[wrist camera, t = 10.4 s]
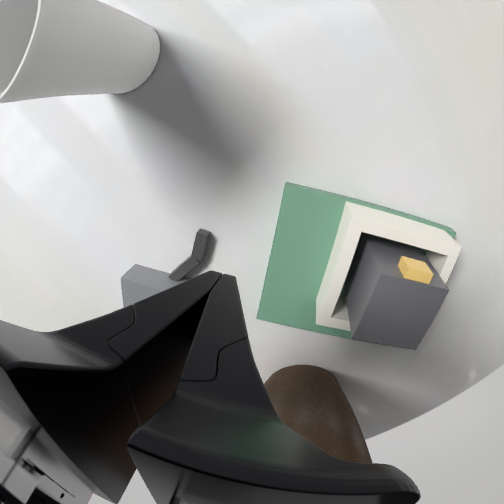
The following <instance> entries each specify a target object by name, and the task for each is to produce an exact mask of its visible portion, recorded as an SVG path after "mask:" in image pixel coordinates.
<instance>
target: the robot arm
mask: <svg viewBox="0 0 504 504" xmlns="http://www.w3.org/2000/svg"><path fill="white" fill-rule="evenodd" d="M136 469H138V471H139V473H140V475H141V476H142V479H143V480H144V482H145V484H146V486H147V488H148V489H149V491H150V493H151V495H152V496H153V498H154V499H155V501H156V503H157V504H415V503H416V502H417V501H418V500H419V499H420V497H421V495H420V492H419V490H418V487H417V486H416V485H415V483H414V482H413V481H412V479H410V478H409V477H408V476H407V475H406V474H405V473H403V472H402V471H401V470H399V469H398V468H396V467H394V466H391V465H387V464H377V463H375V464H374V463H355V462H349V461H345V460H341V459H339V458H336V457H333V456H332V455H330V454H328V453H326V452H325V451H323V450H322V449H320V448H318V447H317V446H315V445H314V444H312V443H311V442H309V441H308V440H307V439H305V438H304V437H302V436H301V435H299V434H298V433H296V432H295V431H294V430H292V429H291V428H289V427H288V426H287V425H285V424H284V422H283V421H282V420H281V419H280V418H279V416H278V414H277V413H276V411H275V409H274V406H273V404H272V402H271V400H270V397H269V395H268V393H267V391H266V388H265V386H264V384H263V381H262V379H261V377H260V374H259V372H258V369H257V367H256V364H255V361H254V358H253V354H252V351H251V347H250V342H249V339H248V333H247V329H246V324H245V319H244V315H243V310H242V305H241V300H240V295H239V290H238V286H237V281H236V277H235V276H232V275H227V274H223V275H222V273H219V272H215V271H208V272H205V273H203V274H201V275H198V276H196V277H194V278H191V279H189V280H187V281H185V282H182V283H180V284H178V285H175V286H173V287H171V288H168V289H166V290H164V291H161V292H159V293H157V294H155V295H152V296H150V297H148V298H145V299H143V300H141V301H138V302H136V303H134V304H133V305H132V304H131V305H129V306H127V307H124V308H122V309H119V310H117V311H114V312H112V313H109V314H107V315H104V316H101V317H98V318H95V319H92V320H89V321H86V322H83V323H80V324H77V325H73V326H70V327H67V328H64V329H61V330H57V331H53V332H37V331H33V330H29V329H26V328H23V327H19V326H16V325H13V324H10V323H7V322H4V321H1V320H0V504H87V503H88V501H89V500H90V498H91V496H92V494H93V493H95V494H96V495H98V496H100V497H102V498H104V499H106V500H108V501H110V502H112V503H114V504H118V502H119V500H120V499H121V497H122V495H123V493H124V491H125V489H126V487H127V485H128V484H129V482H130V479H131V478H132V476H133V474H134V472H135V470H136Z"/></svg>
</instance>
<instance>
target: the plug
mask: <svg viewBox="0 0 504 504" xmlns="http://www.w3.org/2000/svg"><path fill="white" fill-rule="evenodd" d="M344 289H345V295H346V302H347V309H348V316H349V323H350V331H351V339H353V340H359V341H364V342H370V343H376V344H382V345H388V346H394V347H400V348H407V349H414V350H415V349H416V348H417V346H418V345H419V343H420V341H421V340H422V338H423V337H424V335H425V333H426V332H427V330H428V328H429V326H430V325H431V323H432V321H433V319H434V318H435V316H436V314H437V312H438V310H439V309H440V307H441V305H442V303H443V301H444V299H445V297H446V295H447V293H448V291H449V289H448V288H447V286H446V285H445V283H444V282H443V280H442V279H441V277H440V276H439V274H438V273H437V271H436V270H435V268H434V267H433V266H432V264H431V263H430V261H429V260H428V259H427V257H426V256H425V255H424V253H423V252H422V250H421V249H420V248H419V247H416V246H412V245H409V244H405V243H402V242H398V241H394V240H391V239H387V238H383V237H379V236H376V235H372V234H368V233H364V232H362V234H361V237H360V240H359V243H358V246H357V249H356V252H355V255H354V258H353V261H352V263H351V266H350V269H349V272H348V275H347V277H346V280H345V283H344Z"/></svg>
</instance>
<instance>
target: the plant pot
mask: <svg viewBox="0 0 504 504" xmlns="http://www.w3.org/2000/svg"><path fill="white" fill-rule="evenodd" d="M264 386H265V388H266V391H267V393H268V395H269V397H270V400H271V402H272V404H273V406H274V409H275V411H276V413H277V414H278V416H279V418H280V419H281V420H282V421H283V422H284V424H285V425H287V426H288V427H289V428H291V429H292V430H294V431H295V432H296V433H298V434H299V435H301V436H302V437H304V438H305V439H307V440H308V441H309V442H311V443H312V444H314V445H315V446H317V447H318V448H320V449H322V450H323V451H325V452H326V453H328V454H330V455H332V456H333V457H336V458H339V459H341V460H345V461H349V462H355V463H372V460H371V457H370V454H369V451H368V448H367V445H366V442H365V439H364V436H363V434H362V431H361V429H360V426H359V424H358V421H357V419H356V417H355V415H354V412H353V410H352V408H351V406H350V404H349V402H348V400H347V398H346V396H345V395H344V393H343V391H342V389H341V387H340V386H339V384H338V382H337V381H336V379H335V378H334V376H333V375H332V374H330V373H329V372H327V371H326V370H323V369H321V368H318V367H315V366H309V365H295V366H289V367H286V368H283V369H280V370H278V371H277V372H275V373H274V374H272V375H271V377H270V378H269V379H268V380H267V381H266V382H265V384H264Z"/></svg>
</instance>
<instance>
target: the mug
mask: <svg viewBox="0 0 504 504" xmlns="http://www.w3.org/2000/svg"><path fill="white" fill-rule="evenodd" d="M159 54H160V41H159V37H158V35H157V33H156V31H155V30H154V29H153V28H152V27H151V26H150V25H148V24H146V23H145V22H143V21H141V20H139V19H137V18H135V17H133V16H131V15H129V14H127V13H125V12H123V11H120V10H118V9H116V8H114V7H111V6H109V5H107V4H104V3H102V2H99V1H97V0H0V103H5V102H14V101H21V100H28V99H36V98H44V97H54V96H67V95H86V94H120V93H126V92H129V91H132V90H134V89H136V88H137V87H139V86H140V85H141V84H143V83H144V82H145V81H146V80H147V79H148V77H149V76H150V75H151V73H152V72H153V70H154V68H155V66H156V64H157V61H158V58H159Z"/></svg>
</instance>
